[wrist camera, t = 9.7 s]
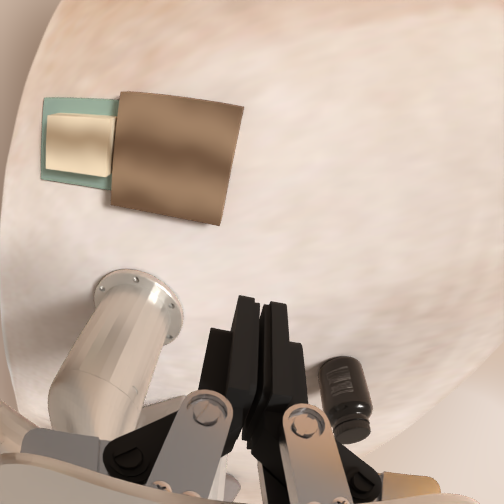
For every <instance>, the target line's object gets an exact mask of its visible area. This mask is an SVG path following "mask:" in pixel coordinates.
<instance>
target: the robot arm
mask: <svg viewBox="0 0 504 504" xmlns="http://www.w3.org/2000/svg"><path fill="white" fill-rule="evenodd" d="M94 304H95V308H96V310H95V312H94V313H93V315H92V316H91V318H90V320H89V321H88V323H87V324H86V326H85V328H84V329H83V331H82V332H81V334H80V336H79V337H78V339H77V341H76V342H75V344H74V346H73V347H72V349H71V351H70V352H69V354H68V356H67V357H66V359H65V361H64V363H63V364H62V366H61V368H60V370H59V371H58V373H57V375H56V377H55V378H54V380H53V382H52V384H51V387H50V390H49V394H48V411H49V417H50V421H51V425H52V429H53V430H50V429H45V428H40V427H38V426H37V425H35V424H34V423H32V422H31V421H29V420H28V419H27V418H25V417H24V416H22V415H21V414H20V413H18V412H17V411H15V410H14V409H13V408H11V407H10V406H9V405H7V404H6V403H5V402H3V401H2V400H1V399H0V504H246V503H236V502H227V501H219V500H212V499H208V497H209V494H210V491H211V487H212V484H213V481H214V478H215V474H216V471H217V468H218V465H219V461H220V458H221V457H223V456H225V455H226V454H228V453H229V452H231V451H232V449H233V446H234V444H235V441H236V439H238V437H239V434H240V432H241V429H242V440H245V441H247V449H251V454H252V455H253V456H254V457H255V458H256V459H257V460H258V464H257V466H258V473H259V480H260V487H261V494H262V501H263V504H480V503H479V502H477V501H475V500H474V499H472V498H469V497H466V496H462V495H458V494H450V493H447V494H446V493H441V490H440V486H439V484H438V483H437V481H436V480H434V479H433V478H431V477H427V476H417V475H407V474H399V473H391V472H383V473H377V472H376V471H375V470H374V469H373V468H372V467H370V466H369V465H368V464H366V463H365V462H364V461H362V460H361V459H360V458H359V457H357V456H356V455H355V454H354V453H352V452H351V451H350V450H348V449H347V448H346V447H345V446H343V445H342V444H341V443H340V442H339V441H337V440H336V439H335V438H334V435H333V432H332V428H331V425H330V422H329V420H328V418H327V416H326V414H325V413H324V412H323V411H322V410H320V409H319V408H317V407H316V406H313V405H310V404H308V396H307V386H306V376H305V366H304V357H303V348H302V345H301V343H295V342H289V329H288V315H287V305H286V304H283V303H278V302H272V301H271V302H270V304H269V305H266V304H264V306H263V309H262V312H261V316H260V303H255V299H254V298H251V297H246V296H241V295H239V297H238V301H237V306H236V310H235V314H234V319H233V323H232V327H231V331H226V330H221V329H215V328H211V329H210V334H209V339H208V344H207V348H206V353H205V358H204V363H203V368H202V373H201V378H200V383H199V388H198V390H197V391H194V392H191V393H190V394H188V395H187V396H186V397H185V398H184V400H183V401H182V403H181V405H180V408H179V410H177V411H175V412H173V413H171V414H169V415H167V416H165V417H163V418H161V419H158V420H156V421H154V422H152V423H150V424H148V425H145V426H143V427H141V428H139V429H136V425H137V422H138V419H139V416H140V413H141V410H142V407H143V404H144V400H145V397H146V394H147V391H148V388H149V385H150V382H151V379H152V376H153V373H154V370H155V367H156V364H157V361H158V358H159V355H160V353H161V350H162V347H163V346H164V345H167V344H169V343H171V342H172V341H174V340H175V338H176V337H177V336H178V335H179V333H180V331H181V328H182V325H183V310H182V307H181V304H180V302H179V300H178V298H177V297H176V295H175V294H174V293H173V292H172V290H171V289H170V288H169V287H168V286H167V285H165V284H164V283H163V282H162V281H160V280H159V279H157V278H156V277H154V276H152V275H150V274H147V273H145V272H141V271H138V270H131V269H123V270H117V271H114V272H111V273H109V274H108V275H106V276H105V277H104V278H103V279H102V280H101V281H100V283H99V284H98V286H97V288H96V290H95V294H94ZM259 316H260V319H259ZM135 429H136V430H135Z"/></svg>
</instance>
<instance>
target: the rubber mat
mask: <svg viewBox="0 0 504 504" xmlns="http://www.w3.org/2000/svg"><path fill="white" fill-rule="evenodd" d="M118 108H119V100H112V99H94V98H44V106H43V119H42V139H41V179H44V180H50V181H57V182H63V183H70V184H76V185H82V186H88V187H94V188H100V189H106V190H111V186H112V173H111V174H110V175H108V176H107V177H101V176H94V175H87V174H80V173H73V172H66V171H59V170H51V169H46V133H47V116H48V115H52V114H56V113H78V114H95V115H108V116H118Z"/></svg>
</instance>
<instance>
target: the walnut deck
mask: <svg viewBox="0 0 504 504" xmlns="http://www.w3.org/2000/svg"><path fill="white" fill-rule="evenodd" d="M243 110H244V107H243V106H237V105H232V104H226V103H220V102H214V101H208V100H202V99H195V98H188V97H180V96H172V95H163V94H153V93H143V92H130V91H127V92H121V93H120V100H119V108H118V116H117V124H116V133H115V144H114V155H113V169H112V186H111V205H114V206H120V207H125V208H130V209H135V210H141V211H146V212H151V213H156V214H162V215H167V216H172V217H177V218H182V219H187V220H192V221H197V222H202V223H207V224H212V225H217V226H220V223H221V219H222V215H223V210H224V204H225V199H226V194H227V188H228V183H229V178H230V173H231V168H232V163H233V158H234V153H235V148H236V143H237V138H238V134H239V129H240V124H241V119H242V115H243Z"/></svg>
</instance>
